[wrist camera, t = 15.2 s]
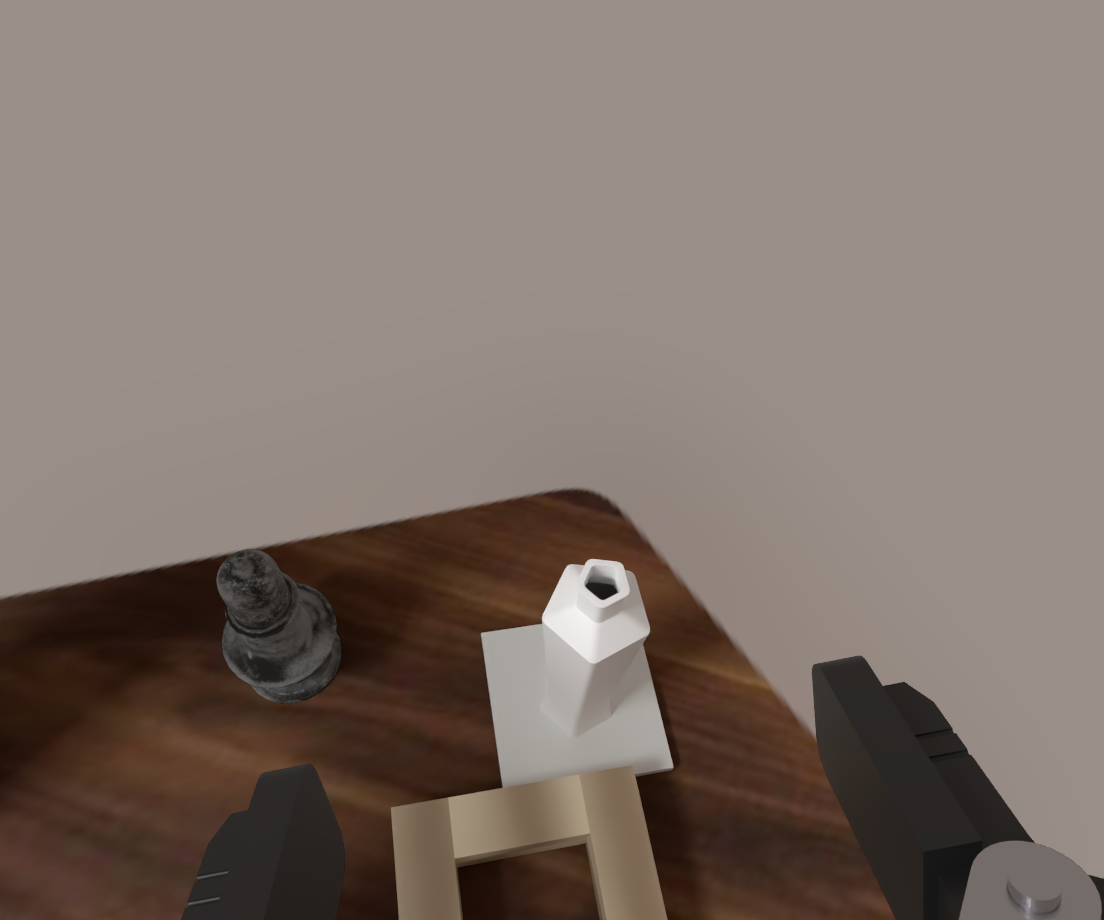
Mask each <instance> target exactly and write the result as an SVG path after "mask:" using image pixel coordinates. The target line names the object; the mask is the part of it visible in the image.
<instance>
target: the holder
mask: <svg viewBox="0 0 1104 920" xmlns="http://www.w3.org/2000/svg"><path fill="white" fill-rule="evenodd" d="M391 816H392V830H393V843H394V857H395V871H396V885H397V899H398V913H399V920H463V916H462V907H461V897H460V888H459V879H458V870H457V868H458V867H463V866H468V865H474V864H479V863H484V862H490V861H495V860H500V859H506V858H511V857H516V856H522V855H527V854H532V853H538V852H543V851H548V850H554V849H559V848H564V847H570V846H575V845H580V844H586V849H587V854H588V860H589V865H590V870H591V876H592V881H593V887H594V892H595V897H596V903H597V908H598V914H599V919H600V920H667V915H666V911H665V906H664V902H663V897H662V893H661V889H660V884H659V880H658V875H657V871H656V866H655V862H654V857H653V853H652V848H651V844H650V839H649V835H648V830H647V826H646V821H645V817H644V812H643V808H642V803H641V799H640V795H639V790H638V786H637V781H636V777H635V772H634V768H633V765H630V766H625V767H619V768H613V769H607V770H602V771H596V772H590V773H585V774H579V775H573V776H568V777H562V778H556V779H551V780H545V781H539V782H533V783H528V784H522V785H516V786H511V787H505V788H499V789H494V790H488V791H482V792H477V793H471V794H465V795H459V796H454V797H448V798H442V799H437V800H431V801H425V802H420V803H414V804H408V805H403V806H397V807H391Z"/></svg>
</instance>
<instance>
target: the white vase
mask: <svg viewBox="0 0 1104 920" xmlns="http://www.w3.org/2000/svg"><path fill="white" fill-rule="evenodd" d="M542 624H543V635H544V647H545V659H546V671H547V683H548V689H547V691H546V693H545V695H544V697H543V699H542V702H541V704H540V708H541V710H542V711H543V712H544V713H545V714H546V715H548V716H549V717H550V718H551V719H552V720H553V721H554V722H555V723H556V724H557V725H558V726H560V727H561V728H562V729H563V730H564V731H565V732H566V733H567V734H568V735H569V736H571V737H577V736H579V735H581V734H582V733H584V732H586V731H588V730H589V729H591V728H593V727H595V726H596V725H598V724H600V723H602V722H603V721H605V720H607V719H608V718H610V717H611V709H610V705H609V700H610V698H611V696H612V695H613V693H614V691H615V690H616V688H617V686H618V685H619V683H620V681H621V680H622V678H623V676H624V675H625V673H626V671H627V670H628V668H629V666H630V665H631V663H632V661H633V660H634V658H635V656H636V654H637V653H638V651H639V649H640V648H641V646H642V644H643V643H644V641H645V639H646V638H647V636H648V634H649V632H650V626H649V623H648V619H647V616H646V612H645V609H644V605H643V602H642V598H641V595H640V592H639V588H638V585H637V581H636V578H635V575H634V573H632V572H631V571H627V570H625V569H624V567H623V565H622V564H621V563H619V562H615V561H607V560H598V559H590V560H588V561H587V562H586V563H585V566H584V565H575V564H570V565H568V566H567V567H566V568H565V570H564V572H563V574H562V577H561V579H560V581H559V583H558V585H557V587H556V589H555V591H554V593H553V595H552V597H551V599H550V601H549V603H548V605H547V607H546V609H545V611H544V613H543V616H542Z"/></svg>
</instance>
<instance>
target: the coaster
mask: <svg viewBox="0 0 1104 920" xmlns="http://www.w3.org/2000/svg"><path fill="white" fill-rule="evenodd" d="M481 639H482V646H483V654H484V661H485V668H486V675H487V682H488V689H489V696H490V703H491V710H492V717H493V725H494V732H495V739H496V746H497V753H498V760H499V767H500V774H501V781H502V788H505V787H511V786H516V785H522V784H528V783H533V782H539V781H545V780H551V779H556V778H562V777H568V776H573V775H579V774H585V773H590V772H596V771H602V770H607V769H613V768H619V767H625V766H630V765H633V768H634V772H635V777H637V776H642V775H648V774H654V773H659V772H665V771H671V770H672V769H673V768H674V767H673V763H672V759H671V755H670V750H669V746H668V742H667V738H666V734H665V730H664V726H663V722H662V718H661V714H660V710H659V706H658V702H657V698H656V694H655V690H654V686H653V682H652V678H651V674H650V670H649V666H648V662H647V658H646V654H645V650H644V646H643V644H642V646H641V648H640V649H639V651H638V653H637V654H636V656H635V658H634V660H633V661H632V663H631V665H630V666H629V668H628V670H627V671H626V673H625V675H624V676H623V678H622V680H621V681H620V683H619V685H618V686H617V688H616V690H615V691H614V693H613V695H612V696H611V698H610V700H609V705H610V709H611V717H610V718H608V719H607V720H605V721H603V722H602V723H600V724H598V725H596V726H595V727H593V728H591V729H589V730H588V731H586V732H584V733H582V734H581V735H579V736H577V737H571V736H569V735H568V734H567V733H566V732H565V731H564V730H563V729H562V728H561V727H560V726H558V725H557V724H556V723H555V722H554V721H553V720H552V719H551V718H550V717H549V716H548V715H546V714H545V713H544V712H543V711H542V710H541V708H540V704H541V702H542V699H543V697H544V695H545V693H546V691H547V689H548V683H547V671H546V659H545V647H544V635H543V624H538V625H531V626H524V627H518V628H511V629H504V630H498V631H491V632H485V633H481Z"/></svg>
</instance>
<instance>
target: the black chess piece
mask: <svg viewBox="0 0 1104 920" xmlns="http://www.w3.org/2000/svg"><path fill="white" fill-rule="evenodd" d="M216 581H217V588H218V592H219V594H220V596H221V597H222V599H223V600H224V602H225V615H226V619H227V622H226V625H225V627H224V631H223V638H222V648H223V655H224V658H225V660H226V662H227V664H228V666H229V668H230V669H231V670H232V671H233V672H234V673H235V674H236V675H237V676H238V677H239V678H240V679H241V680H243V681H245V682H247V683H249V684H250V685H251V687H252V688H253V689H254V690H255V691H256V692H257V693H258V694H259V695H260V696H262V697H264V698H266V699H268V700H269V701H273V702H277V703H282V704H284V703H297V702H300V701H303V700H307V699H309V698H311V697H313V696H314V695H316V694H318V693H319V692H321V691H322V690H323V689H324V688H325V687H326V686H327V685H328V684H329V683H330V682H331V680H332V679H333V677H334V676H335V674H336V673H337V670H338V667H339V664H340V661H341V650H342V648H341V644H340V639H339V636H338V635H337V633H336V629H337V622H336V618H335V613H334V610H333V608H332V607H331V605H330V603H329V601H328V600H327V599H326V598H325V597H324V596H323V595H322V594H321V593H320V592H319V591H318V590H316V589H314V588H312V587H310V586H308V585H305V584H301V583H296V582H294V581H293V580H292V579H291V578H290V577H289V576H288V575H286V574H284V573H282V572H281V571H280V570H279V568H278V566H277V564H276V562H275V561H274V560H273V559H272V558H271V557H270V556H269V555H268V554H266V553H264V552H262V551H260V550H255V549H246V550H242V551H238V552H236V553H234V554H232V555H231V556H230V557H228V558H227V559H226V560H225V561H224V562H223V564H222V565H221V566H220V568H219V571H218V573H217V579H216Z"/></svg>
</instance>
